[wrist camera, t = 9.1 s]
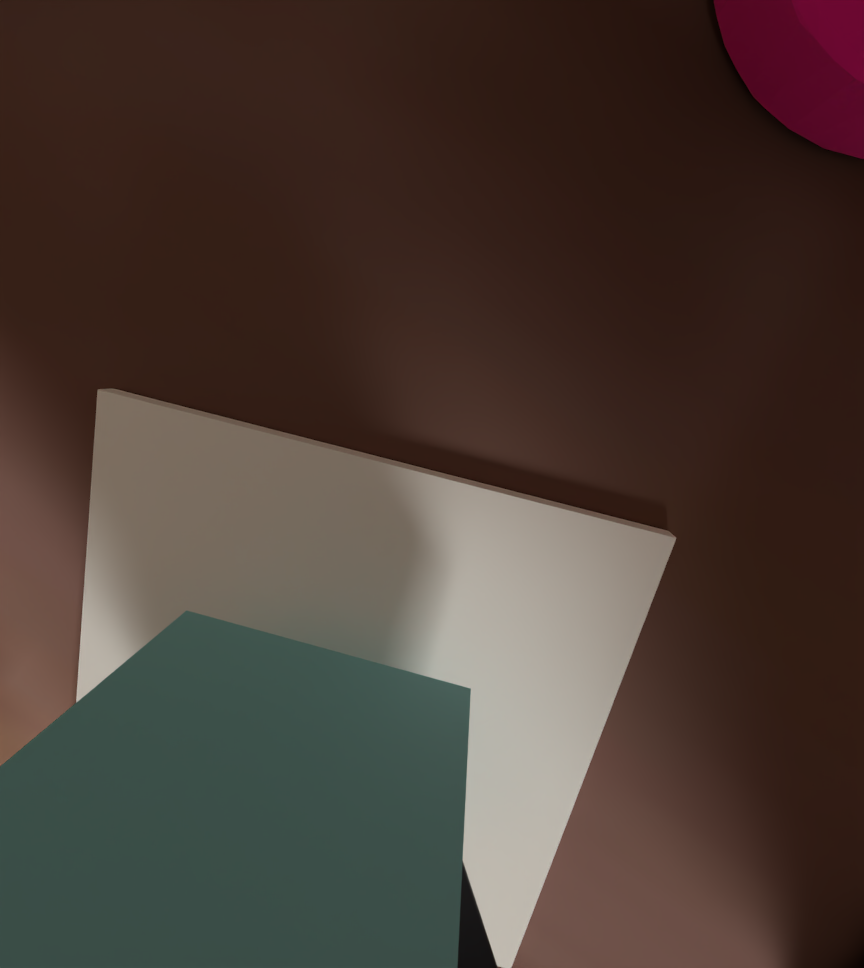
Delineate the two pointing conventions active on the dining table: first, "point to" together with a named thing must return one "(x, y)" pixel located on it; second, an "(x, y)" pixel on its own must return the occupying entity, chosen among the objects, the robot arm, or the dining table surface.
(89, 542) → the white mat
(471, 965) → the robot arm
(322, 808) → the teal block
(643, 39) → the dining table surface
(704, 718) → the dining table surface
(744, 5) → the pepper mill
